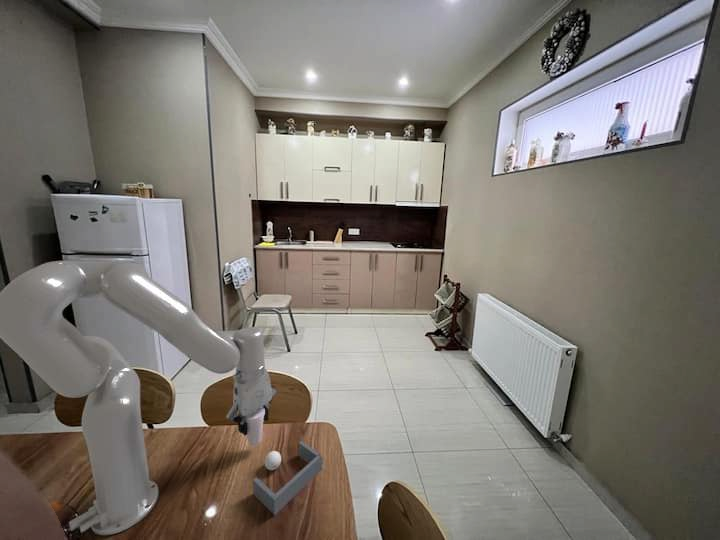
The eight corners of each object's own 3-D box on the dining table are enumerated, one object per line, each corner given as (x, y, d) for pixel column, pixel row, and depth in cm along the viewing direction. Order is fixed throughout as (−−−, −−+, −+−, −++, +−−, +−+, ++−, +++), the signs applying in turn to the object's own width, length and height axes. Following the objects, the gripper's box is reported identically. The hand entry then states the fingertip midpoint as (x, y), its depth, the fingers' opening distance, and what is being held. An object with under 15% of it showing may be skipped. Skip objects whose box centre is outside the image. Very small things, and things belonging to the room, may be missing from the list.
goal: (274, 515, 68) (274, 499, 67) (253, 494, 73) (253, 479, 72) (322, 469, 81) (322, 455, 80) (301, 453, 86) (301, 440, 85)
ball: (271, 477, 78) (271, 463, 77) (261, 468, 80) (261, 454, 79) (284, 466, 81) (284, 452, 80) (274, 458, 84) (274, 444, 83)
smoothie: (259, 450, 82) (256, 407, 79) (239, 446, 83) (236, 404, 80) (270, 434, 88) (268, 393, 85) (251, 430, 89) (249, 390, 87)
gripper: (229, 390, 72) (233, 450, 76) (283, 362, 86) (285, 415, 89) (214, 379, 77) (219, 437, 80) (268, 355, 90) (270, 405, 94)
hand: (254, 425), depth 85 cm, fingers closed on smoothie, 6 cm apart
